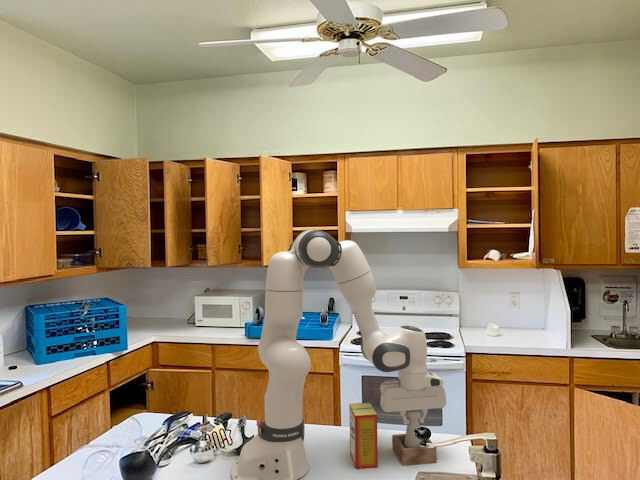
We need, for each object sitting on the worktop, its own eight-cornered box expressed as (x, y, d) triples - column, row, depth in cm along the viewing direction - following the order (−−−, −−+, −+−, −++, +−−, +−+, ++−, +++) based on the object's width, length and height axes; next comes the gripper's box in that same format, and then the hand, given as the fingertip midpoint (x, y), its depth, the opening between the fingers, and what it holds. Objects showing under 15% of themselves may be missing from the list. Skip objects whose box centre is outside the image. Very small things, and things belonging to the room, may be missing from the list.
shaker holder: (403, 465, 131) (402, 450, 131) (392, 449, 142) (392, 434, 142) (436, 462, 133) (436, 447, 133) (423, 446, 143) (423, 432, 143)
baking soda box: (377, 467, 131) (377, 413, 131) (355, 469, 130) (355, 414, 130) (370, 451, 140) (369, 401, 140) (350, 453, 139) (349, 402, 139)
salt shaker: (422, 457, 134) (421, 414, 134) (403, 454, 136) (402, 412, 135) (424, 448, 139) (423, 407, 139) (405, 445, 141) (405, 405, 141)
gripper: (383, 384, 132) (383, 430, 133) (448, 379, 135) (448, 425, 136) (377, 377, 139) (378, 421, 139) (439, 373, 142) (440, 416, 142)
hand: (413, 423), depth 137 cm, fingers closed on salt shaker, 3 cm apart
